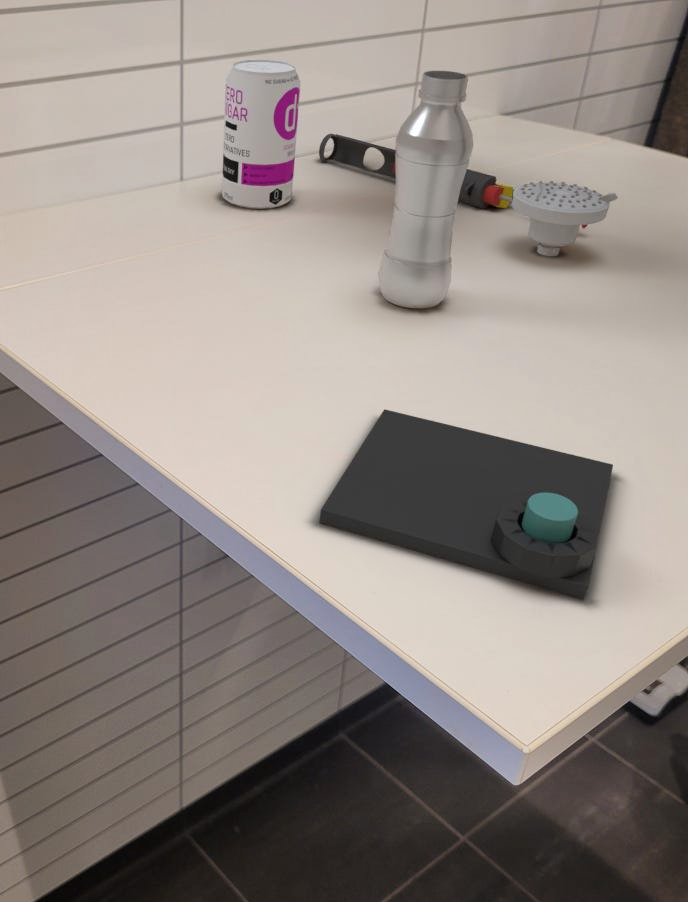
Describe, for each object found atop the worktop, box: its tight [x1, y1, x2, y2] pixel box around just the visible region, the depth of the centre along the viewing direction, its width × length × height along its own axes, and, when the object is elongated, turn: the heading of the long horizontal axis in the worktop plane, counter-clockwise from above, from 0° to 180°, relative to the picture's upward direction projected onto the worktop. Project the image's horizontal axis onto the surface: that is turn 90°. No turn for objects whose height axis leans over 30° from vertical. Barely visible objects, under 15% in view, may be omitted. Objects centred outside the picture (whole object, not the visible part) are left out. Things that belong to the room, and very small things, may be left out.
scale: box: [318, 408, 614, 601], centre depth 61 cm, size 16×14×3 cm
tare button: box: [522, 493, 578, 543], centre depth 55 cm, size 3×3×2 cm
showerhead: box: [511, 180, 619, 257], centre depth 97 cm, size 9×7×10 cm
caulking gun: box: [318, 133, 589, 230], centre depth 115 cm, size 4×37×10 cm
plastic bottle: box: [377, 70, 474, 309], centre depth 83 cm, size 6×7×20 cm
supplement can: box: [221, 59, 301, 210], centre depth 107 cm, size 8×8×15 cm
